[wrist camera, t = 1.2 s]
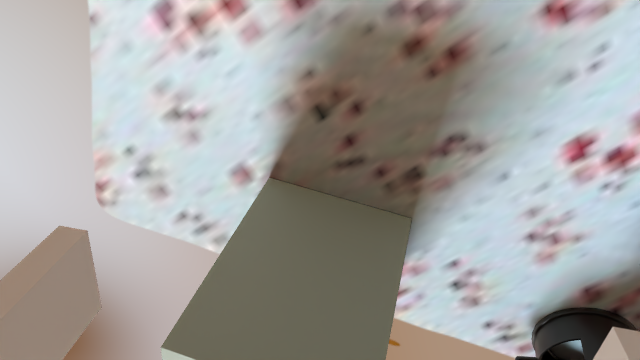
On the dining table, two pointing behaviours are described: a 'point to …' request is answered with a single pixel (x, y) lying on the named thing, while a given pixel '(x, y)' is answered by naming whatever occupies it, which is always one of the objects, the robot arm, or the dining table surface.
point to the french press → (574, 331)
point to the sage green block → (298, 283)
